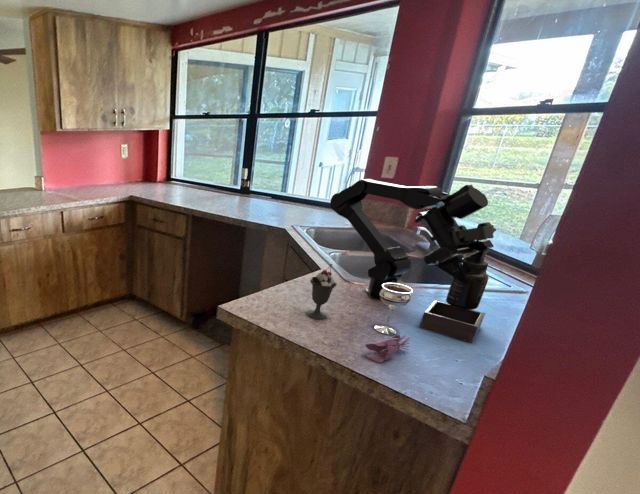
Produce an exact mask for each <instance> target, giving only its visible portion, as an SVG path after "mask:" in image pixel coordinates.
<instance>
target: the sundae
mask: <svg viewBox="0 0 640 494" xmlns="http://www.w3.org/2000/svg"><path fill="white" fill-rule="evenodd" d="M332 266H333V264H332V263H330V264H329V266H328V268H329V271H327V270H328V268H326V269H323V270H322V271H320V272H319V273H317V274H316V276H312V277H311V279H310V280H309V282H310V284H311V285H312V286H311V287H312V288H311V298H312V302H313V303H315V304H316V306H315V309H314V310H309V311H308V312H307V313H306V314H307V316H308V317H310V318H311V319H315V320H324V319H326V318H327V315H326V314H325V313H324V312H321V307H322V305H325V304H326V303H328V301H329V299H330V297H331V294H332V292H333V289H334V288H336V287H337V285H338V283H337V282H335V279H334V278H333V276H332V275H333V273H332V272H331V271H332Z"/></svg>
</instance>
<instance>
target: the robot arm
mask: <svg viewBox="0 0 640 494" xmlns="http://www.w3.org/2000/svg"><path fill="white" fill-rule="evenodd" d="M368 195H373V196H375V197H376V196H377V197H382V198H386V199H392V200H395V201H399V202H401V203H402V204H403V205H405V206H407V207H410V208H412V209H414V210H424V209H428V210H426V211H420V212H417V216H416V217H415V219H414V223H416V224H417V223H424V222H425V224H426V226H427V228H428V229H429V231H430V233H431V234H432V236H430V240H431V242H436V243H437V245H438V246H439V247H438V248H436V249H434V250H432V251H430V252H428V253H426V254H424V258H423V260H424V262H425V264H426V266H432V265H434V267H435V268H438V269H440V270H441V271H443V272H445V273H446V274H448V275H449V276H451V277H452V278H453V277H454V278H456V279H457V280H459V281H460V282H462V283H463V284H468V283H470V281H469V278H468V276H467V274H466V272H465V269H464V267H463V265H462V264H463V262H464V260H465V259H476V260H481V261H485V257H486V255H487V253H489V252H490V249H492V248H494V244H493V242H492V240H490V239H493V238H494V233H495V232H497V228H495V227H494V224H492V223H491V222H489V221H487V222H482V223H481V222H480V223H478V224H477V226H476V227H473V228H467V227H466V226H465V225H463V224H462V225H461V224H460V225H459V224H458V222H457V220H456V219H460V220H463V219H465V218H467V217H468V216H471V215H473V214H474V213H477V212H478V211H480V210H482V209H484V208H486V207H488V205H489V201H488V197H487V196H486V195H485V193H482V192H481V190H480V189H478V188H475V187H474V185H473V184H471V183H470V184H465V185H464V186H462V187H461V188H459V189H458V190H456V191H455V192H453V193H452V194H450V193H447V192H444V191H442V188H441V187H439V186H435V185H425V186H424V185H420V186H407V185H401V184H396V183H390V182H385V181H379V180H375V179H372V178H365V179H359V180H357V181H356V182H355V183H354V184H352V185H350V186H348V187H346V188H344V189H342V190H341V191H339V192H336V193H334V194H333V195H332V196H331V198H330V202H329V207H330V208H331V209H332V211H334V212H335V213H336V214H337V215H338V216H340V217H342V218H344V219H346V220H347V221H348V222H349V223H350V225H351V226H352V228H353V229H354V230H355V232H356V233H357V234H358V236H359V237H360V238H361V239H362V241H363V242H364V243H365V245H366V246H367V247H368V248H369V250H370V251H371V252H372V254H373V259H374V264H375V266H373V267H371V268H369V269H367V275H368V278H370V280H369V283H368V288H366V289H365V292H366V293H367V294H368V296H369V297H370V298H371V299H378V300H381V299H380V295H379V294H380V291H381V290H382V289H383V287H382V285H383V284H385V283H396V284H398V278H402V277H403V275H404V274H406V273H408V272H409V271H410V269H411V265H412V260H411V259H410V258H411V256H410V255H409V254H407V252H406V251H405V250H404V248H403V247H402V246H395V247H393V246H392V245H391V244H390V243H389V242H388V241H387V240H386V239H385V237H384V236H383V234H382V233H381V232H380V230H378V228H377V227H376V226H375V224H374V223H373V222H372V221H371V219H370V218H369V217H368V216H367V214H366V213H365V212H364V211H363V202H362V201H363V200H365V198H366V197H367V196H368ZM440 205H441V206H440ZM438 206H439V207H438ZM429 208H430V209H429ZM437 262H438V263H437ZM485 273H486V274H487V270H486V271H485Z"/></svg>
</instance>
